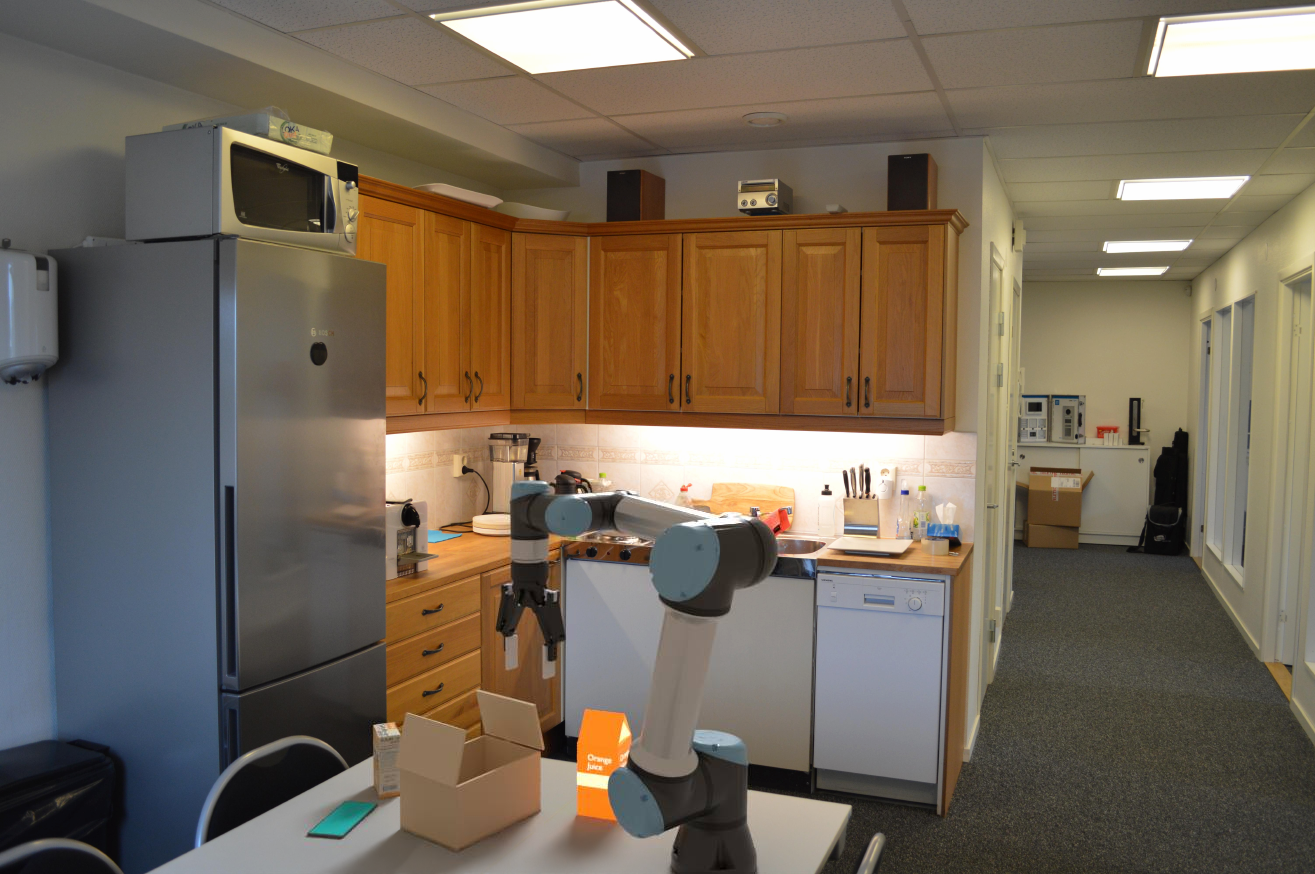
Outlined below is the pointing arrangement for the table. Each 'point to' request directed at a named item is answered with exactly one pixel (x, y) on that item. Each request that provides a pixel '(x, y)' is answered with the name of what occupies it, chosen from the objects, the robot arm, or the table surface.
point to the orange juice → (600, 760)
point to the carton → (473, 795)
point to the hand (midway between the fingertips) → (529, 672)
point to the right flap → (510, 719)
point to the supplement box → (386, 759)
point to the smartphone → (343, 819)
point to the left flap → (431, 749)
